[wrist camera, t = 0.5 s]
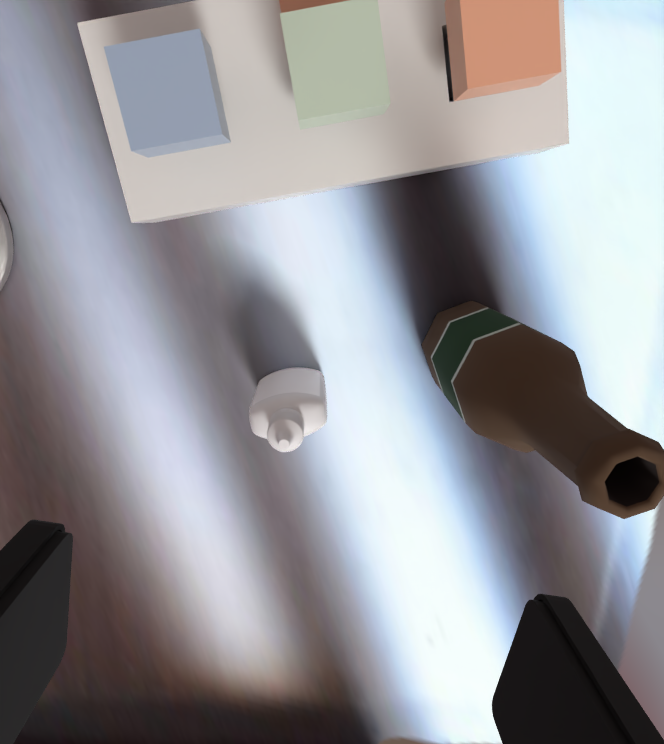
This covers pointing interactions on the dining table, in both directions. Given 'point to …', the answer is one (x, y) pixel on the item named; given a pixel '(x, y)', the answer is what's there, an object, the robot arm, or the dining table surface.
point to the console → (323, 143)
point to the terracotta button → (500, 45)
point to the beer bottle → (540, 406)
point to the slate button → (168, 93)
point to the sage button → (336, 62)
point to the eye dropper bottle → (289, 407)
